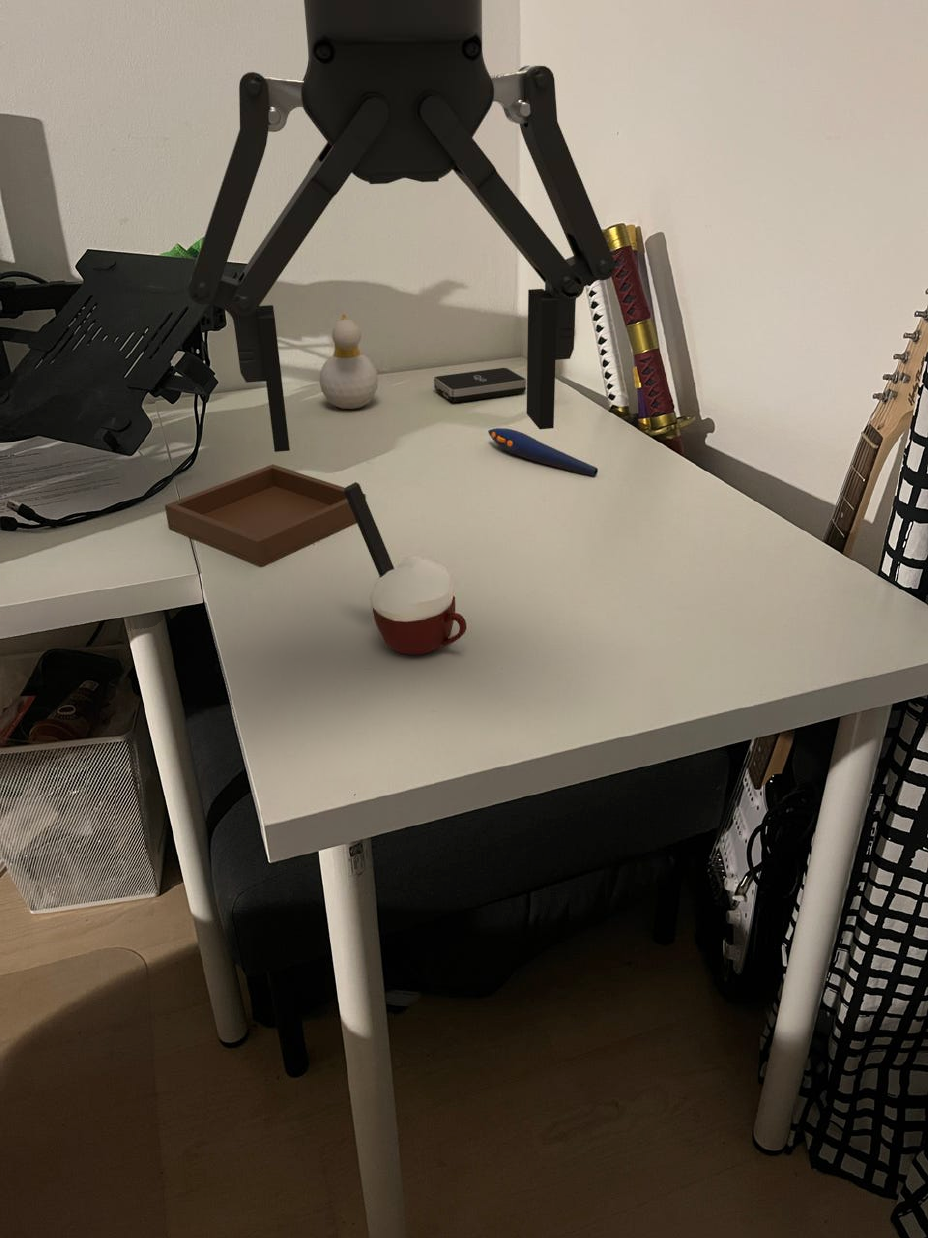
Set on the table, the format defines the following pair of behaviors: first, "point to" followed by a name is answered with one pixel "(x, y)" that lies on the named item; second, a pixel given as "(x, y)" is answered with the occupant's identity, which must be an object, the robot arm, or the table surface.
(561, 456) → the tapered navy handle
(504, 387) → the external hard drive
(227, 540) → the tray
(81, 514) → the table surface
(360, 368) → the white gourd-shaped figure
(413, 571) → the cocoa
